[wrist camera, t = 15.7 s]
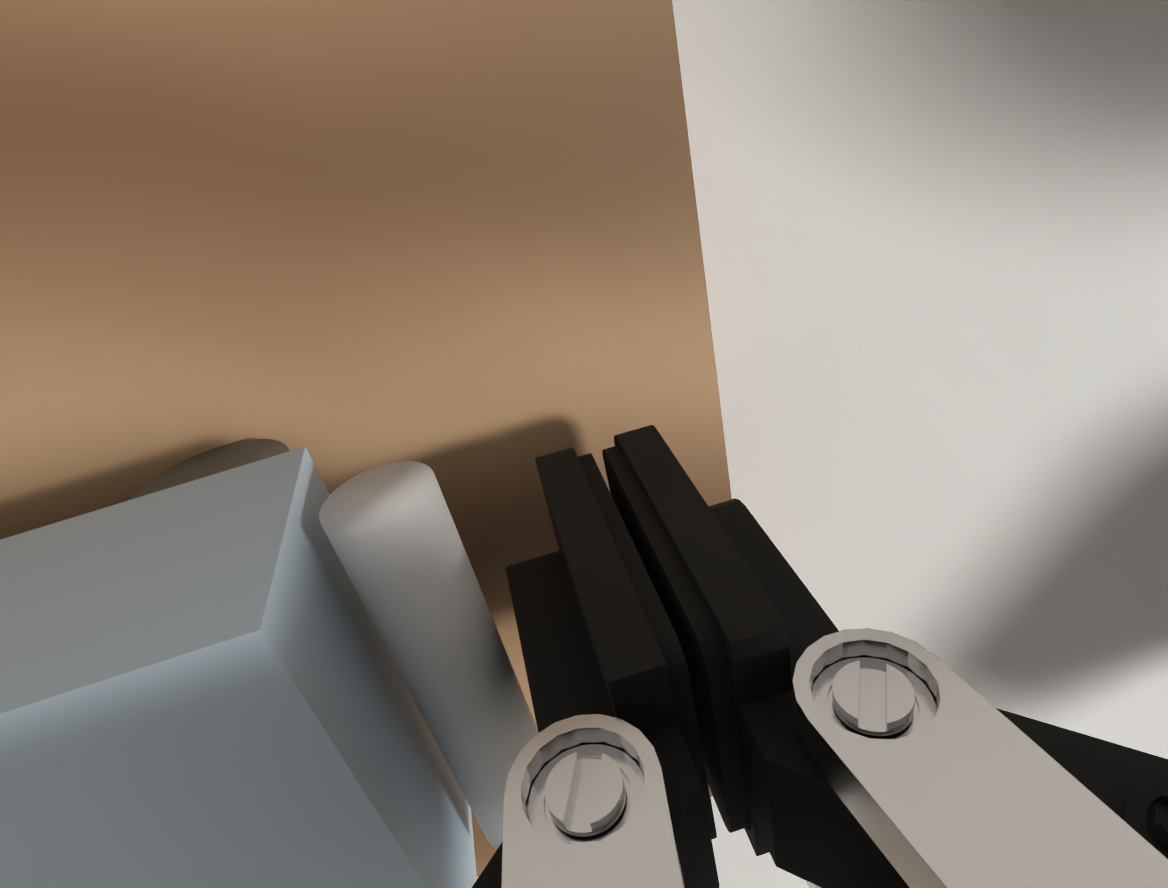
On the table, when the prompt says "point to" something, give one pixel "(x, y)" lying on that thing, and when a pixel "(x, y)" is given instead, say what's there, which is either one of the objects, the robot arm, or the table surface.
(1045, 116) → the table surface
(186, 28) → the dock
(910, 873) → the robot arm
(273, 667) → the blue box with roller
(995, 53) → the table surface
